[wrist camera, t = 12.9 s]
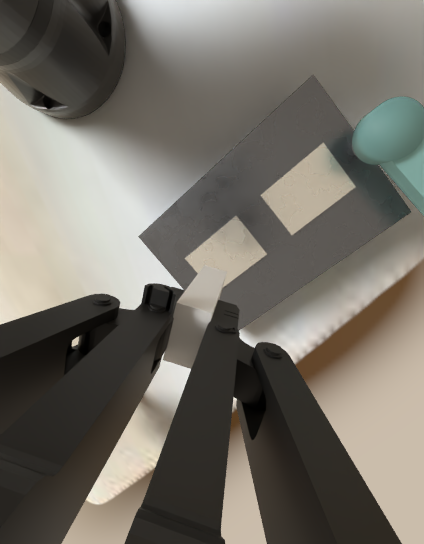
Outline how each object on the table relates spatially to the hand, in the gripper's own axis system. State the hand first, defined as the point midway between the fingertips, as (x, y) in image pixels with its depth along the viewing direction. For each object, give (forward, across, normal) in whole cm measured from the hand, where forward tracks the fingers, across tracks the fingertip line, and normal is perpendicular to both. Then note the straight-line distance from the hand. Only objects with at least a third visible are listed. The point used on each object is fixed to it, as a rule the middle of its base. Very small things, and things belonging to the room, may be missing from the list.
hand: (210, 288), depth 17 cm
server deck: (+16, +3, +4) cm, 17 cm away
